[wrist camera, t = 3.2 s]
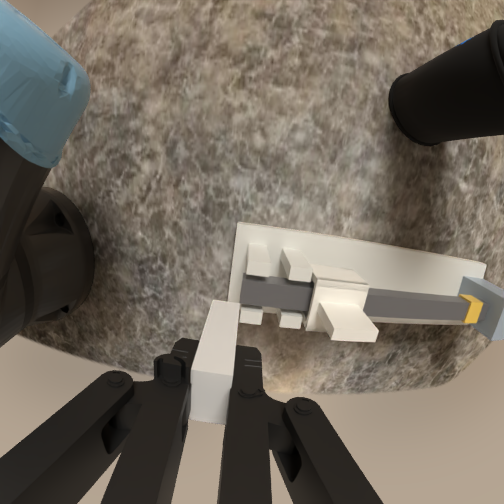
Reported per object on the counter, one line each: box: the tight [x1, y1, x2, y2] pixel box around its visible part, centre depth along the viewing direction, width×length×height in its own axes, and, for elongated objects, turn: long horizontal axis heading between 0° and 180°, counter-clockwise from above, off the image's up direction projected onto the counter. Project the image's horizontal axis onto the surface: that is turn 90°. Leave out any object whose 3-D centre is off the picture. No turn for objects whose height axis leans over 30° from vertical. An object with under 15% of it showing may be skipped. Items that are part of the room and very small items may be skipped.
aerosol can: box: [389, 20, 504, 146], centre depth 14 cm, size 8×8×20 cm
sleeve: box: [300, 264, 379, 342], centre depth 20 cm, size 4×4×8 cm
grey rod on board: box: [228, 222, 504, 341], centre depth 24 cm, size 30×8×9 cm, turn 82°
